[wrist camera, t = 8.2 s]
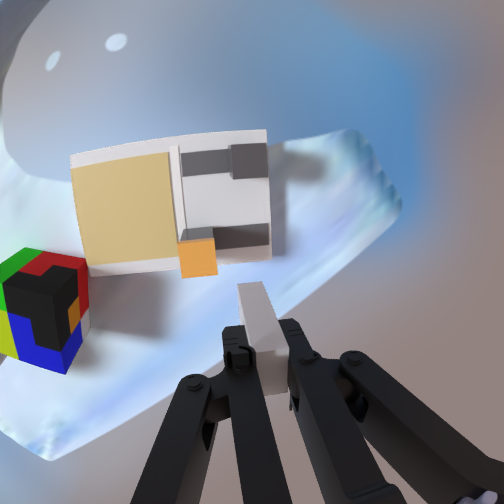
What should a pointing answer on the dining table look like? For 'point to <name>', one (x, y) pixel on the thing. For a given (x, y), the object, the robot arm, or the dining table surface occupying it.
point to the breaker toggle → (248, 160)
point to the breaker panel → (168, 202)
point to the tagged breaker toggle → (197, 252)
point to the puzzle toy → (43, 308)
